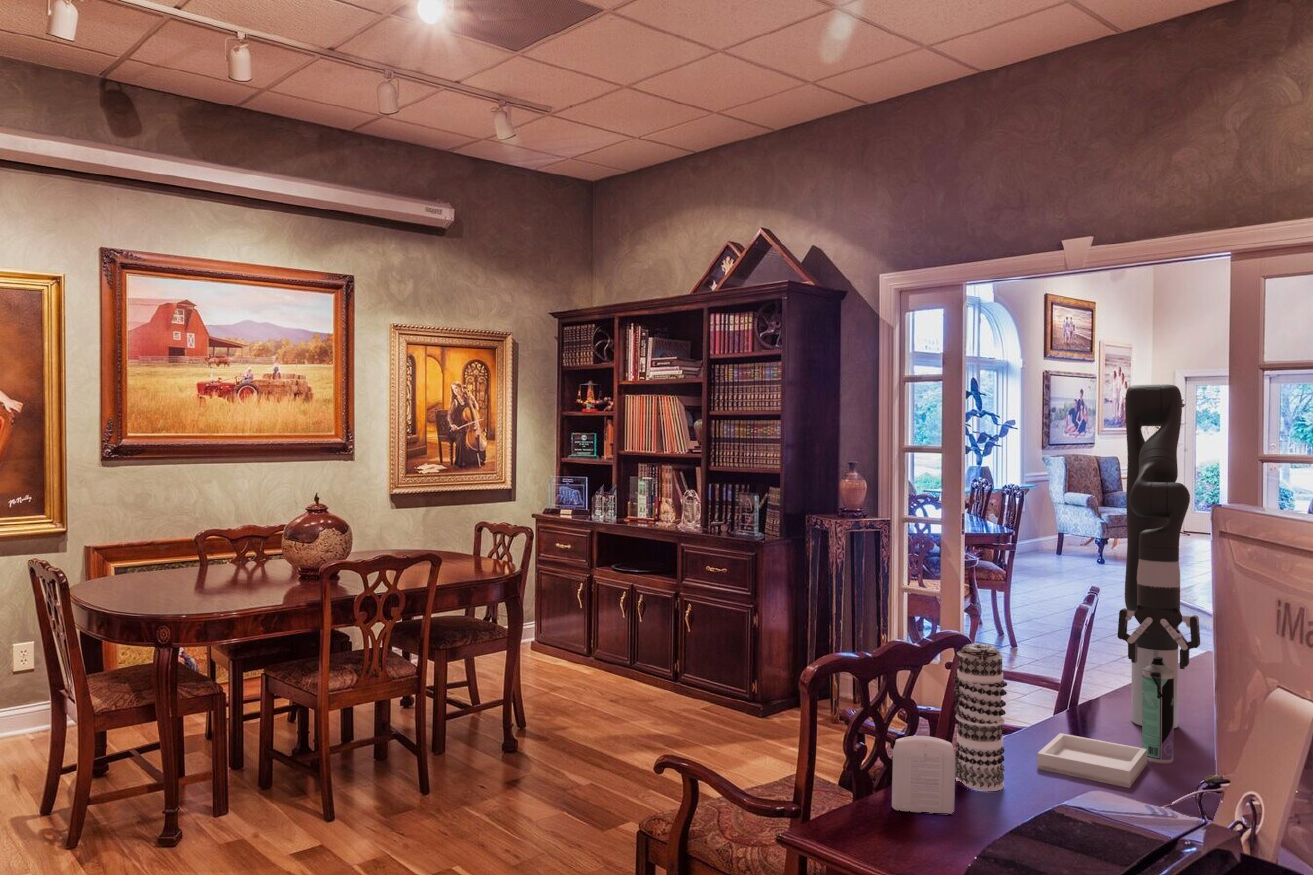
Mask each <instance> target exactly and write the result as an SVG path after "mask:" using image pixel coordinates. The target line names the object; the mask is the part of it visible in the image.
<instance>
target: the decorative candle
mask: <svg viewBox="0 0 1313 875" xmlns="http://www.w3.org/2000/svg"><path fill="white" fill-rule="evenodd" d="M956 655H957V656H958V668H957V671H956V674H955V675H953V682H954V683H955V687H954V688H953V691H954V694H955V695H954V701H955V703H956V706H955V707H954V711H955V713H956V714H955V718H956V720H957V721H958V723H957V729H958V730H957V733H956V742H955V744H954V745H955V746H954V747H955V748H956V749H957V750H956V751H954V753H955V758H956V757H957V758H956V759H955V779H956V781H960V782H962V783H963V784H964V785H965V786H967V787H969V788H973V789H977V790H983V791H997V790H1000V789H1002V788H1003V787H1004V788H1005V784H1004V782H1003V781H1005V775H1004V772H1005V770H1006V769H1005V766H1004V765H1003V763H1004V761H1005V756H1004V755H1003V754H1004V753H1005V747H1003V746H1004V740H1003V739H1004V738H1003V736H1002V732H1003V725H1004V723H1005V720H1006V719H1005V718H1004V717H1003V716H1005V715H1006V710H1005V709H1003V707H1005V706H1006V705H1007V702H1005V700H1003V699H1002V697H1004V696H1005V695H1007V694H1008V693H1007V691H1006V689H1004V688H1005V687H1007V685H1008V682H1006V681H1005V680H1004V672H1003V659H1004V657H1005V656H1004V655H1003V654H1002V653H1000V652H999V650H998V648H997V647H995V646H994V645H990V644H985V643H967V644H964V646H962V648H961V649H960V650H959V651H957V652H956ZM1004 788H1003V789H1004ZM1000 791H1001V790H1000Z"/></svg>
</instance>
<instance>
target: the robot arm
mask: <svg viewBox="0 0 1313 875" xmlns="http://www.w3.org/2000/svg"><path fill="white" fill-rule="evenodd" d="M1124 399H1125V400H1124V413H1125V428H1126V431H1125V432H1126V433H1125V434H1126V448H1127V450H1126V452H1127V468H1126V470H1127V471H1126V496H1125V498H1126V499H1125V500H1126V502H1125V504H1126V527H1127V528H1126V532H1127V534H1126V535H1127V538H1126V539H1127V541H1126V542H1127V544H1126V545H1127V546H1126V548H1127V549H1126V562H1125V565H1126V566H1125V579H1124V580H1125V581H1124V605H1125V608H1122V609H1120V610H1119V613H1118V622H1117V624H1118V626H1117V638H1118V639H1119V640H1122V641H1125V642H1126V643H1127V658H1128V659H1129V660H1131V661H1130V662H1131V692H1130V693H1131V695H1130V696H1131V702H1130V703H1131V704H1130V706H1131V707H1130V708H1131V709H1130V710H1131V711H1130V713H1131V715H1130V716H1131V717H1130V718H1131V720H1130V721H1131V722H1132V723H1134V724H1135V725H1138V726H1142V683H1143V671H1144V670H1143V668H1144V667H1147V666H1149V665H1150V663H1152V661H1153V658H1155V657H1162V658H1163V662H1164V664H1166V667H1168V668H1169V669H1170V670H1172V671H1173V675H1174V729H1176V728H1178V727H1179V669H1180V670H1186V667H1188V666H1189V664H1190V650H1192V649H1197V648H1198V647H1200V645H1201V634H1200V633H1201V632H1200V619H1199V616H1198V615H1195V614H1194V615H1192V616H1190V615H1187V616H1186V615H1183V614H1182V613H1181V570H1180V538H1181V532H1182V528H1183V527H1182V526H1183V523H1184V520H1185V517H1186V515H1187V512H1188V509H1189V505H1190V503H1191V495H1190V491H1189V489H1188V488H1187V486H1185V485H1184V484H1183V483H1180V482H1177V480H1178V475H1179V471H1178V445H1179V439H1180V433H1181V426H1182V424H1181V423H1182V413H1183V412H1182V411H1183V400H1182V399H1183V398H1182V393H1181V390H1180V388H1179V387H1178V386H1176V385H1174V384H1166V383H1165V384H1134V385H1130V386H1129V387H1128V388H1126V392H1125V398H1124ZM1142 427H1160V428H1159V429H1157V430H1156V431H1155V432H1154V433H1153V434H1152V435H1151V436H1149V438H1147V440H1146V441H1145V437H1144V435H1143V433H1142V432H1143V431H1142ZM1132 617H1134V618H1135V620H1136V621H1137V622H1138V624H1139V625H1138V627H1137V628H1136V629H1135V630H1134V631H1132V632H1131V633H1132V634H1128V622H1129V621H1131V620H1132ZM1182 623H1185V626H1186V627H1187V628H1190V641H1187V639H1186V637H1184V634H1183V633H1182V632H1181V630H1180V629H1179V626H1180V625H1181V624H1182ZM1179 647H1180V649H1179Z"/></svg>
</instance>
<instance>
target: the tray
mask: <svg viewBox="0 0 1313 875" xmlns="http://www.w3.org/2000/svg"><path fill="white" fill-rule="evenodd" d="M1036 761H1037V762H1036V763H1037V765H1036V766H1037V770H1042V771H1046V772H1051V773H1055V774H1061V775H1064V776H1065V775H1066V776H1069V777H1074V778H1079V779H1084V780H1087V781H1088V780H1090V781H1093V782H1099V783H1103V784H1109V785H1114V786H1119V787H1124V788H1128V789H1130V788H1131V787H1132V785H1133V784H1134V783H1135V781H1136V780H1137V778H1139V776H1140V775H1141V773H1142V772H1143V770H1144V769H1145V768H1146V767H1147V765H1148V761H1147V749H1144V748H1142V747H1137V746H1134V745H1127V744H1122V743H1121V744H1120V743H1117V742H1116V743H1115V742H1112V741H1111V742H1110V741H1105V740H1101V739H1095V738H1088V737H1083V736H1077V735H1073V734H1067V733H1062V732H1060V733H1058V734H1057V735H1056V736H1055V737H1054V738H1053V739H1051V741H1049V742H1048V743H1047V744H1046V745H1045V746H1044V747H1042V749H1040V750H1039V751H1038V752H1037V760H1036Z"/></svg>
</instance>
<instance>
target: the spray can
mask: <svg viewBox="0 0 1313 875" xmlns="http://www.w3.org/2000/svg"><path fill="white" fill-rule="evenodd" d="M1143 670H1144V671H1143V683H1142V727H1141V748H1144V749H1147V762H1152V763H1155V764H1162V765H1163V764H1165V765H1166V764H1171V763H1173V762H1174V732H1175V728H1174V675H1173V671H1172V670H1170V669H1169V668H1168V667H1166V664H1164V662H1163V658H1162V657H1155V658H1153V661H1152V663H1150V665H1149V666H1147V667H1144V668H1143Z"/></svg>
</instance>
